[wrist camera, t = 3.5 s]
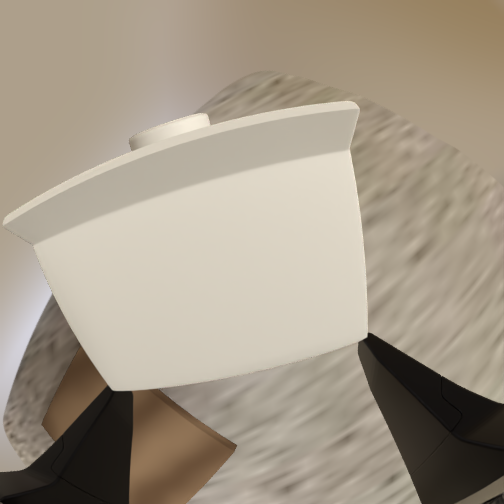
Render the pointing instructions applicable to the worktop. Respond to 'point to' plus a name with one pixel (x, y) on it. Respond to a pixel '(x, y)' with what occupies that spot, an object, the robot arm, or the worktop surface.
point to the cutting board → (146, 437)
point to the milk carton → (209, 248)
